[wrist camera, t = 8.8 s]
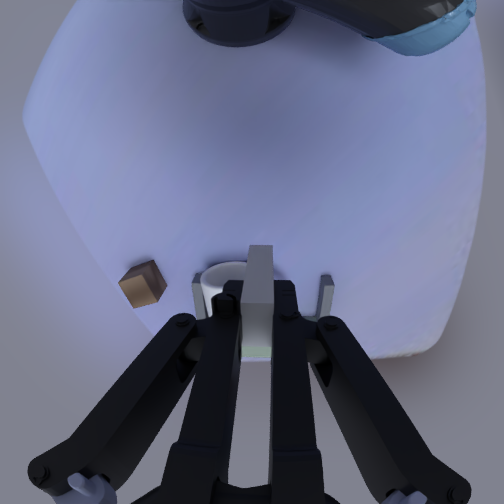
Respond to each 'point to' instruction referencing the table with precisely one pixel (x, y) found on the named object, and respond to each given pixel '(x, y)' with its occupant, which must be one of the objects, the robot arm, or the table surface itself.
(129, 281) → the walnut block
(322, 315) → the green holder tray
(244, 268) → the mug
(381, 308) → the table surface
